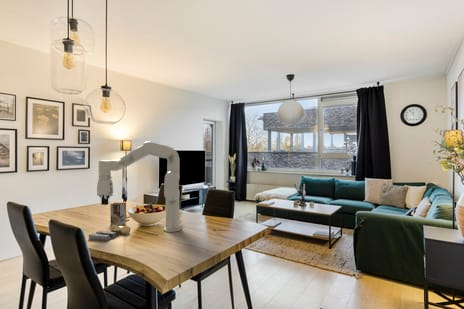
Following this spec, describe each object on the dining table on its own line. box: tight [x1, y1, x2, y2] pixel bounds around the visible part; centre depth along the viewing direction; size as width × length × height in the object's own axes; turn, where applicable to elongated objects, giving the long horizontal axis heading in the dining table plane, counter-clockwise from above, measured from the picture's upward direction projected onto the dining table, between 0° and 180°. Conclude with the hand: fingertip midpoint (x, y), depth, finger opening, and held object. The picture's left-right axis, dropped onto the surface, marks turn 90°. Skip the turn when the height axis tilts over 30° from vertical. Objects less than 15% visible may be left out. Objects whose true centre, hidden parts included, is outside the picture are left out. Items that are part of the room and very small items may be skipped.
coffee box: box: [110, 202, 127, 226], centre depth 196 cm, size 9×6×16 cm
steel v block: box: [88, 230, 117, 242], centre depth 165 cm, size 9×13×3 cm
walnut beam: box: [112, 230, 120, 237], centre depth 175 cm, size 9×5×4 cm, turn 165°
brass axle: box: [109, 225, 131, 235], centre depth 175 cm, size 5×12×5 cm, turn 75°
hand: (104, 204), depth 177 cm, fingers closed
